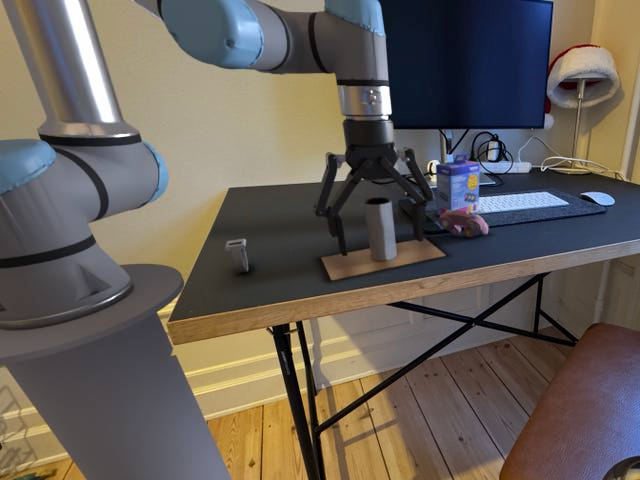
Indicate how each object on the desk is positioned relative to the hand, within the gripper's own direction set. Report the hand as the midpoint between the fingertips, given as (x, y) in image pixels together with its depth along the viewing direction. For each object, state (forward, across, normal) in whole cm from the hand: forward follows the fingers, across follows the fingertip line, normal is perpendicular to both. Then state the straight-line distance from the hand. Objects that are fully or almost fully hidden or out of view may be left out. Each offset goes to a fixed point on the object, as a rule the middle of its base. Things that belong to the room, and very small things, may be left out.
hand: (382, 246), depth 66 cm
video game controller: (+2, +18, +3) cm, 18 cm away
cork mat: (+2, 0, 0) cm, 2 cm away
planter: (+2, 0, 0) cm, 2 cm away
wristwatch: (+2, -22, +6) cm, 23 cm away
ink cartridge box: (+2, +24, +17) cm, 30 cm away
